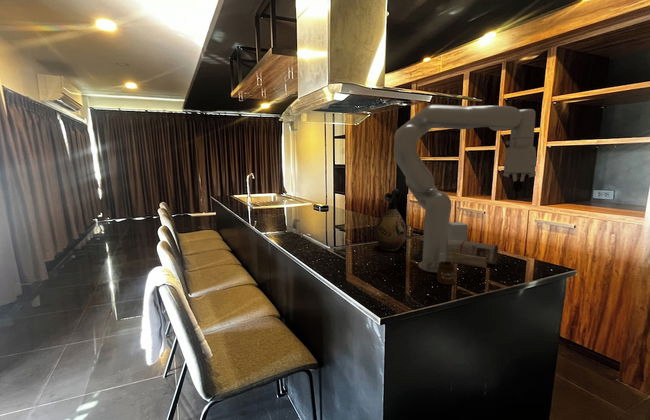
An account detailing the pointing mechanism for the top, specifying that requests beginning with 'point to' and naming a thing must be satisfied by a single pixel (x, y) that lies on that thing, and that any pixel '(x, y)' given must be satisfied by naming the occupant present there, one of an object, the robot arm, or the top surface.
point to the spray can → (474, 249)
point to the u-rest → (467, 260)
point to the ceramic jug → (391, 225)
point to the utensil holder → (446, 271)
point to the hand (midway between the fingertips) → (517, 191)
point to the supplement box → (457, 231)
